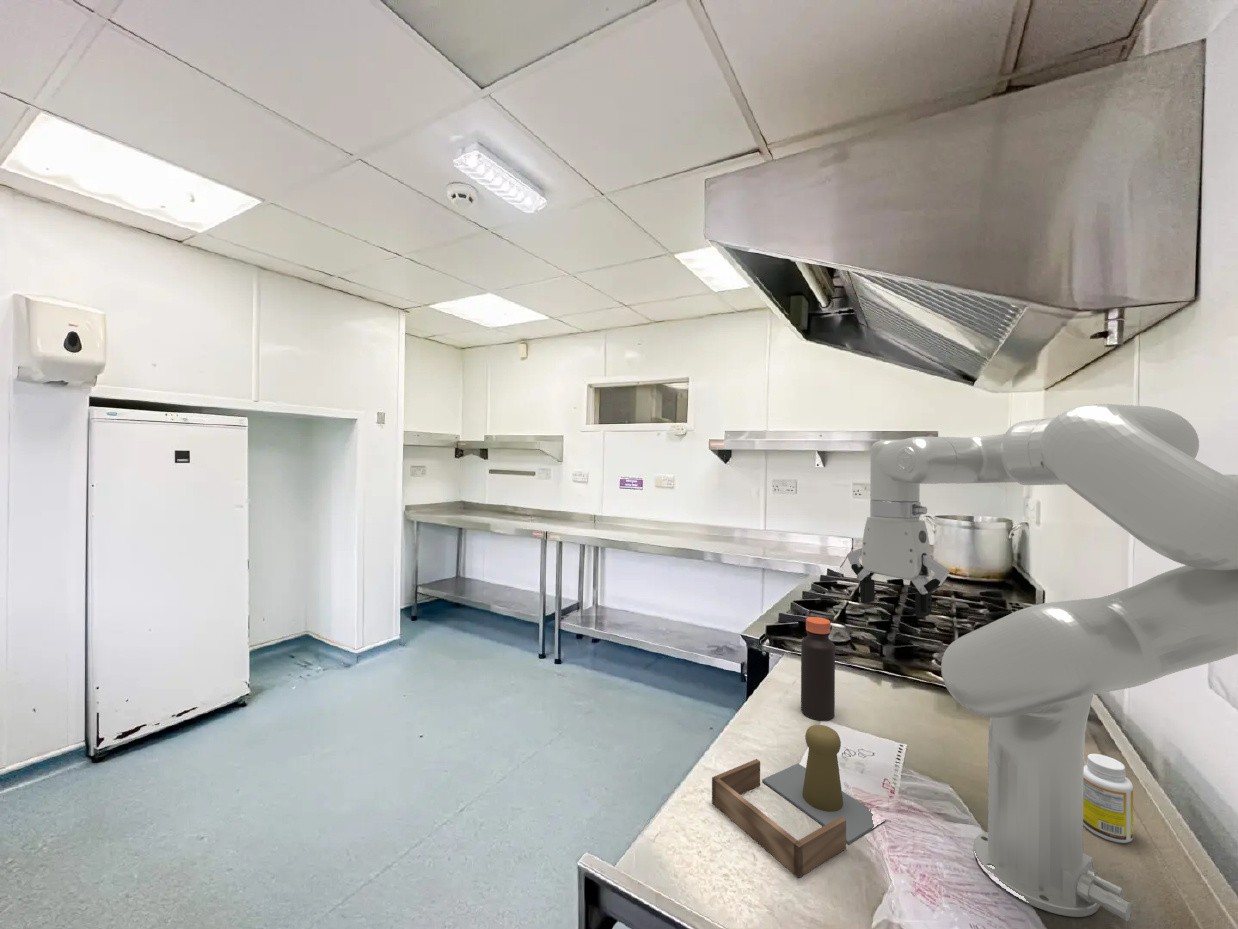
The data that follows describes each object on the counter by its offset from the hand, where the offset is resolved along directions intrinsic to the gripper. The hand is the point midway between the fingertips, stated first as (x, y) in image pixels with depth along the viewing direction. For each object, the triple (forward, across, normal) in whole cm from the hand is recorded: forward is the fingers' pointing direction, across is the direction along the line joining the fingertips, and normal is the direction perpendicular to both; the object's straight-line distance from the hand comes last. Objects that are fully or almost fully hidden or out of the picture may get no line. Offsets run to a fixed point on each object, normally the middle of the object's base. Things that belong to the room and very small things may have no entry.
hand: (893, 609), depth 87 cm
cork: (+28, +1, +17) cm, 33 cm away
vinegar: (+28, +20, -6) cm, 35 cm away
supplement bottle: (+28, -24, -13) cm, 39 cm away
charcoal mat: (+28, +2, +18) cm, 33 cm away
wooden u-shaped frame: (+28, +2, +28) cm, 39 cm away
